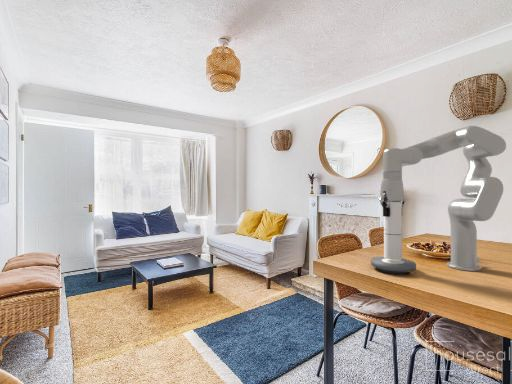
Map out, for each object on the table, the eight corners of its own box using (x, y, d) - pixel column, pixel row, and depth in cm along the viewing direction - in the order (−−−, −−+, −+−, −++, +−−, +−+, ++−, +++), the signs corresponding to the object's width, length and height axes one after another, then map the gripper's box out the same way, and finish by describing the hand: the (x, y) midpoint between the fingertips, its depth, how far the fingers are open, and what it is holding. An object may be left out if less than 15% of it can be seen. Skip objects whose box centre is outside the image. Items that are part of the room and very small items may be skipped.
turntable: (371, 259, 132) (371, 247, 132) (413, 263, 125) (413, 250, 125) (369, 268, 116) (369, 254, 116) (418, 273, 108) (418, 258, 108)
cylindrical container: (397, 256, 124) (397, 201, 124) (404, 260, 116) (404, 202, 117) (381, 255, 124) (381, 201, 124) (387, 259, 117) (387, 202, 117)
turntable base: (390, 265, 128) (390, 261, 128) (414, 271, 117) (414, 268, 117) (372, 268, 123) (372, 264, 123) (395, 275, 112) (395, 271, 112)
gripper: (398, 177, 128) (398, 214, 128) (371, 176, 120) (371, 216, 120) (413, 176, 121) (413, 216, 121) (385, 175, 114) (386, 217, 113)
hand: (392, 215), depth 121 cm, fingers closed on cylindrical container, 7 cm apart
